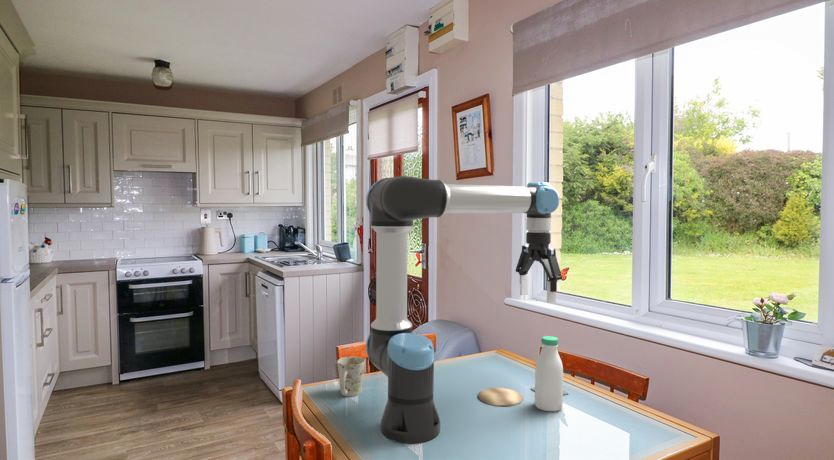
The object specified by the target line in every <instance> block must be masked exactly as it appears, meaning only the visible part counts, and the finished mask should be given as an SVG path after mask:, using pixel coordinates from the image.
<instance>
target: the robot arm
mask: <svg viewBox="0 0 834 460" xmlns="http://www.w3.org/2000/svg"><path fill="white" fill-rule="evenodd" d="M365 203H366V208H367V211H368V212H369V214H370V227H371V229H372V230H373V231H374V232H375V233H376V255H375V256H376V259H375V260H376V262H375V263H376V264H375V265H376V275H375V277H376V278H375V279H376V283H375V287H376V288H375V289H376V295H375V296H376V297H375V298H376V300H375V301H376V303H375V306H376V309H375V310H376V311H375V312H376V315H375V319H374V321H372V322H371V323H370V334H368V337H367V339H366V343H365V352H366V356H367V357H368V359H369V361H370V362H371V364H372V365H373V366H375V368H376V369H378V370H379V371H380V372H381V373H383V374H384V375H385V376H386V377H387V401H386V405H385V407H384V410H383V413H382V415H381V418H380V419H381V420H380V431H381V434H382V435H383V436H384V437H385V438H387V439H389V440H390V441H392V442H393V441H394V442H397V443H405V444H417V443H422V442H428V441H430V440H432V439H434V438H436V437H438V435H439V433H441V432H440V431H441V419H440V416H439V413H438V410H437V407H436V404H435V399H434V391H435V389H434V387H435V386H434V385H435V380H434V379H435V377H434V376H435V351H434V350H435V348H434V343H433V342H432V340H430V338H428V337H427V336H425V335H422V334H418V333H414V332H413V323H412V322H411V321H410V320H409V318H408V239H409V238H408V236H409V235H408V234H409V233H410V231H411V230H412V229H413V228H414V221H415V220H420V219H427V218H429V219H430V218H442V217H443V216H444V215H445V214H526V218H525V220H526V221H525V222H526V223H525V225H526V226H525V230H526V231H527V232H526V234H525V243H526V244H524V245H521V252H520V256H519V258H518V261H517V265H516V268H515V272H516V273H518V275H519V285H520V286H519V295H520V296H529V280H530V279H529V273H528V272H529V271H530V269H531V267H532V266H533V264H534V263H535V262H539V264H541V266H542V268H543V270H544V273H545V274H546V276H547V278H548V279H547V281H546V284H547V285H546V287H547V288H546V303H548V304H549V303H550V304H551V303H556V301H557V300H556V297H557V296H556V294H557V293H556V292H557V290H558V289H557V288H558V287H557V286H558V281H561V280H562V279H563V275H562V271H561V269H560V265H559V262H558V259H557V255H556V249H555V248H554V247H551V248H549V245H550V244H551V242H552V241H551V240H552V238H551V237H552V236H551V232H550V231H551V229H552V227H551V226H552V224H551V223H552V213H554V212H555V211H556V210H557V209H558V208H559V205H560V195H559V192H558V190H556V189H555V188H554V187H553V186H552V185H551V183H549V182H544V181H541V182H540V181H539V182H537V181H536V182H531V181H530V182H528V183H527V185H526V186H524V185H522V186H521V185H493V184H492V185H489V184H488V185H487V184H456V183H455V184H453V183H451V184H450V183H445V182H444V180H441V179H428V178H421V177H415V176H407V175H401V176H393V177H392V176H391V177H384V178H382V179H379V180H378V181H375V182H374V183H373V184H372V185H371V186H370V187H369V188H368V191H367V194H366V196H365Z"/></svg>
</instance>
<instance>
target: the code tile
mask: <svg viewBox="0 0 834 460" xmlns="http://www.w3.org/2000/svg"><path fill="white" fill-rule="evenodd" d="M530 391H533V392H534V391H535V387H530ZM568 395H569V393H568V392H566V391H565V390H563V396H568Z"/></svg>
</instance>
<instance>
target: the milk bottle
mask: <svg viewBox="0 0 834 460" xmlns="http://www.w3.org/2000/svg"><path fill="white" fill-rule="evenodd" d="M540 341H541V342H540V343H541V344H540V345H541V350H540V353H539V355H538V357H537V359H536V363H535V372H534V388H535V392H534V405H535V407H536V408H537V409H539V410H541V411H545V412H558V411H561V410H562V409H563V404H564V403H563V401H564V398H563V391H564V367H563V361H562V359H561V357H560V354H559V351H558V347H559V338H558V337H556V336H551V335H544V336H541V340H540Z"/></svg>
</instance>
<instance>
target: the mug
mask: <svg viewBox="0 0 834 460" xmlns="http://www.w3.org/2000/svg"><path fill="white" fill-rule="evenodd" d="M365 364H366V360H365V358H363V357H360V356H345V357H340V358H339V359H337V363H336V365H337V372H338V379H339V387H340V394H341V395H342V396H344V397H349V398H350V397H356V396H359V395H360V394H362V388H363V379H364V372H365V366H366V365H365Z"/></svg>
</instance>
